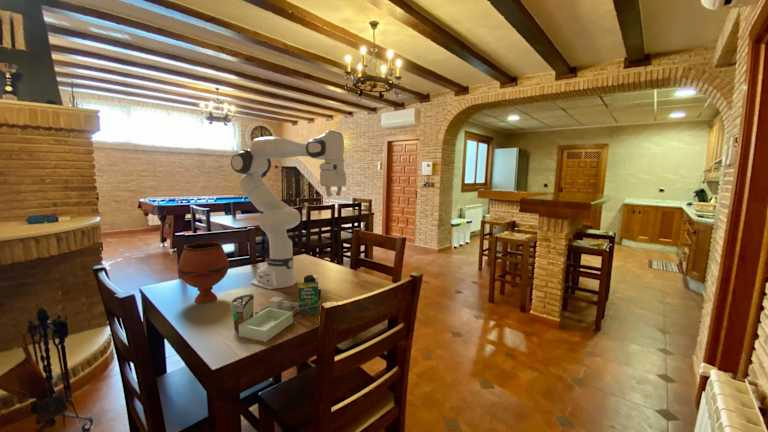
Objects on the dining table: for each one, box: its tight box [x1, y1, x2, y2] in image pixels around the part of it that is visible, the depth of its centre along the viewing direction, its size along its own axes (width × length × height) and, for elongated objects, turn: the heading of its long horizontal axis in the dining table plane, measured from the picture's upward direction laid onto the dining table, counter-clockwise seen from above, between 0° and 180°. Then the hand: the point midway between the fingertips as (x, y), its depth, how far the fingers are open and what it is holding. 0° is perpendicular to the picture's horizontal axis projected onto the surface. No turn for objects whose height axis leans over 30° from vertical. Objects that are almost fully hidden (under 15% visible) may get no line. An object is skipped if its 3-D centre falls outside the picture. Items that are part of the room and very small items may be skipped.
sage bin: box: [238, 308, 294, 343], centre depth 113 cm, size 11×16×4 cm
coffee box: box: [297, 281, 320, 316], centre depth 126 cm, size 8×3×13 cm, turn 94°
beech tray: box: [254, 300, 299, 316], centre depth 129 cm, size 14×14×2 cm
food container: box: [229, 293, 255, 332], centre depth 115 cm, size 12×6×10 cm, turn 5°
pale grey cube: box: [281, 303, 293, 312], centre depth 128 cm, size 4×4×4 cm
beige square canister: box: [303, 274, 322, 305], centre depth 139 cm, size 7×7×12 cm
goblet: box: [177, 241, 230, 305], centre depth 137 cm, size 19×19×25 cm
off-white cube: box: [268, 296, 284, 310], centre depth 129 cm, size 4×4×5 cm
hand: (333, 196), depth 147 cm, fingers open, 8 cm apart
